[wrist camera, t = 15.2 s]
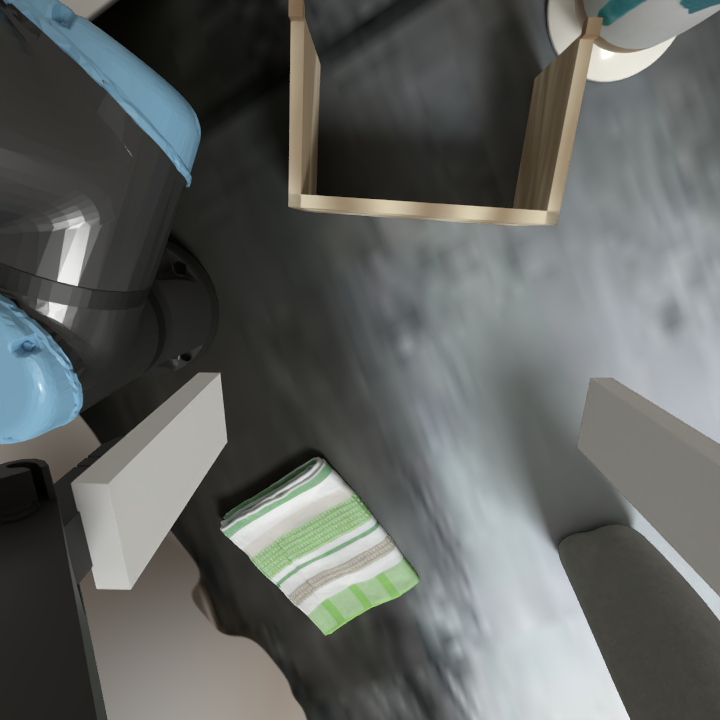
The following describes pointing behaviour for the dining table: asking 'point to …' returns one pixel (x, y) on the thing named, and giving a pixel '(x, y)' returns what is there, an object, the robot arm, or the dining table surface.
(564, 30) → the disc
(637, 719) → the vase
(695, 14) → the vase
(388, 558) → the dish towel
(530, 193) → the light wood u-shaped piece
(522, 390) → the dining table surface
